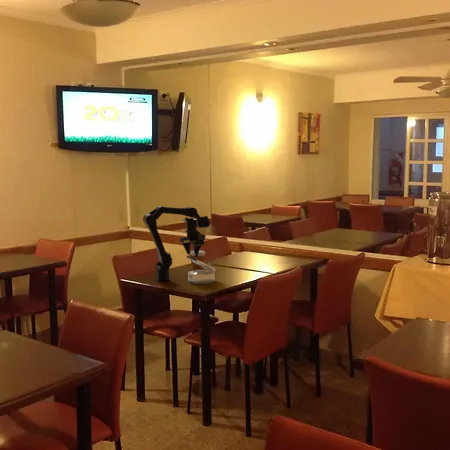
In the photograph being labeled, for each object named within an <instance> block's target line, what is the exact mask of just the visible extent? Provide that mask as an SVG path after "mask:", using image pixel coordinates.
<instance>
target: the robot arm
mask: <svg viewBox="0 0 450 450" xmlns="http://www.w3.org/2000/svg"><path fill="white" fill-rule="evenodd" d="M163 214H169V215H179V216H180V215H182V216H184V217H185V218H184V219H183V220H182V221H183V222H184V223H185V222H186V230H185V234H186V235H185V236H181V237H180V238H179V242H181V245H182V246H183V248H184V250H185V252H186V254H187V255H191V254H190V253H191V246H192V251H194V253H195V256H196V257H197V256H198V253H199V250H201V247H202V246H204V245H205V244H206V243H205V241H206V237H207V235H206V234H204V233H201V232H200V231H199V230H197V228H198V229H205V228H210V225H211V224H210V219H209V216H208V215H204V216H200V214H199V213H198V209H197V208H195V207H192V206H184V207H174V206H172V207H170V206H162V205H158V206H156V208H154V209H152V210H151V211H150V212H149V213H146V214H144V215H143V217H142V222H143V223H144V225H145V226H146V228H147V229H148V231H149V233H150V235H151V238H152V240H153V244H154V246H155V248H156V250H157V259H158V261H157V263H156V264H155V265H154V266H155V269H156V270H155V271H156V274H155V276H156V278H155V279H154V281H157V282H159V283H161V282H167V281H171V280H170V272H169V271H170V268H171V267H172V266H173V259H174V258H172V255H171V253H170V252H168V251H166V249H165V246H164V244H163V240H162V238H161V236H160V232H159V230H158V223H157V220H158V219H159V218H161V216H162V215H163ZM191 244H192V245H191Z"/></svg>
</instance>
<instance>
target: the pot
mask: <svg viewBox="0 0 450 450" xmlns="http://www.w3.org/2000/svg"><path fill="white" fill-rule="evenodd" d="M215 273H216V271H215V272H214V271H211V270H208V269H203V270H194V271H193V270H191V271H188V273H187V276H188V278H187V279H188V280H187V282H188V283H189V284H193V285H209V284H213V283H215V282H216V279H215V278H216V277H215V276H216V274H215Z"/></svg>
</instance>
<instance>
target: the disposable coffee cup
mask: <svg viewBox="0 0 450 450" xmlns="http://www.w3.org/2000/svg"><path fill="white" fill-rule="evenodd" d="M189 255H190V256H192V257H194V258H195V259H197V260H199V261H201V262H203V263H205V256H206V252H205V250H201V249H200V250H199V253H198V256H197V257H196V256H195V253H194V250H190V254H189ZM191 265H192V271H194V270H204V267H202V266H200V265H198V264H196V263H194V262H193V261H191Z"/></svg>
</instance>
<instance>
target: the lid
mask: <svg viewBox="0 0 450 450" xmlns="http://www.w3.org/2000/svg"><path fill="white" fill-rule="evenodd" d="M186 258H187V259H189V260H190V261H191V262H192V261H193V262H194V263H196V264H198V265H200V266H202V267H203V269H205V270H209V271H213V272H215V273H216V268H214V267H213V266H212V265H213V264H212V263H210V262H208V264H207V263H205V262H204V263H203V262H201V261H199V260H197V259H195V258H194V257H192V256H191V255H189V254H187V256H186Z"/></svg>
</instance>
